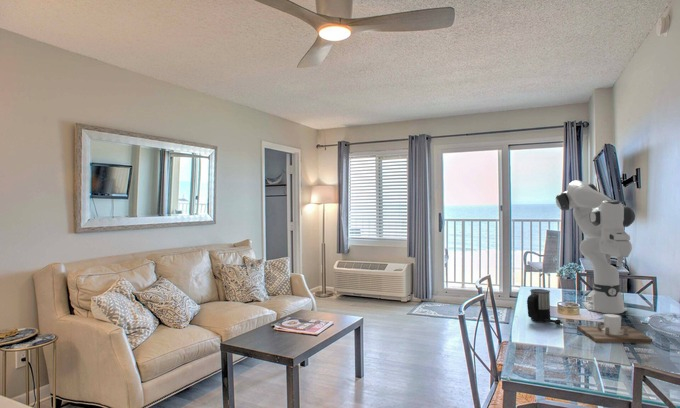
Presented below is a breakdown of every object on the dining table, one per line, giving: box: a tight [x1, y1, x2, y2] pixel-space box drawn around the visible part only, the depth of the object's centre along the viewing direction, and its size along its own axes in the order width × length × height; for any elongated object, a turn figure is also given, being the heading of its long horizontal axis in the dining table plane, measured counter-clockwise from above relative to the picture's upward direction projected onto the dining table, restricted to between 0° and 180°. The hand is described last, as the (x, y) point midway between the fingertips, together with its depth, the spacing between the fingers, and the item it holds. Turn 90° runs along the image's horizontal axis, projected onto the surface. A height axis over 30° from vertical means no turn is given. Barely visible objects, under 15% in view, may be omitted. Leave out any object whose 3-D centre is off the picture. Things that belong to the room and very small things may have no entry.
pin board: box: [576, 321, 653, 344], centre depth 182 cm, size 18×22×5 cm
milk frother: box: [526, 288, 564, 326], centre depth 204 cm, size 14×16×15 cm
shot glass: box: [602, 313, 622, 333], centre depth 182 cm, size 7×7×7 cm
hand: (613, 264), depth 193 cm, fingers open, 8 cm apart
